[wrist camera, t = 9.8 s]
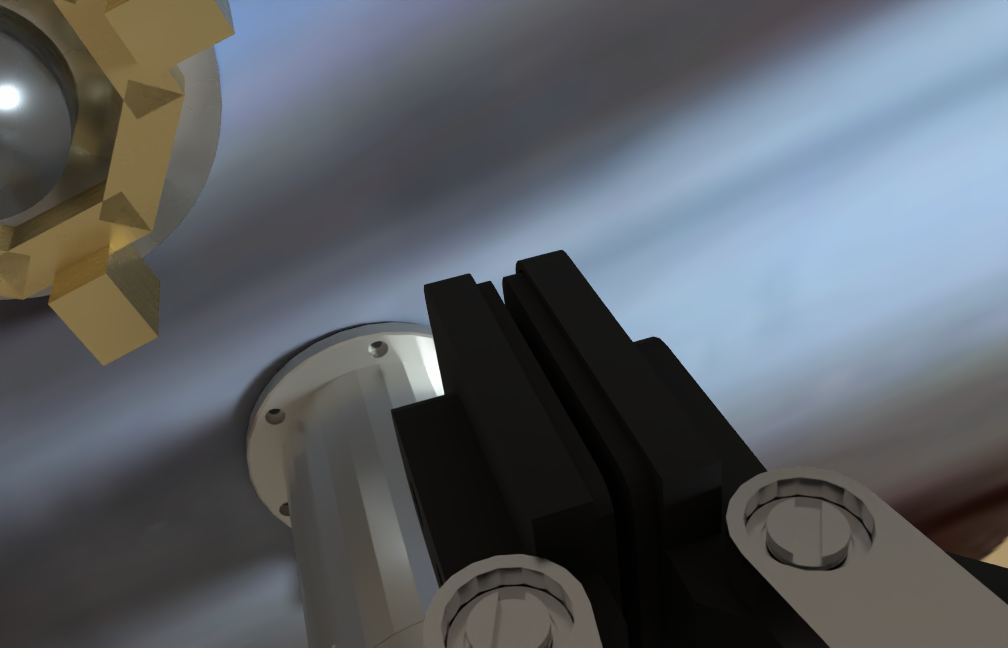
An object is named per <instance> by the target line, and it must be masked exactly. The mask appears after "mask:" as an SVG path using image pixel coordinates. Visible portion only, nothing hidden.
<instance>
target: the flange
mask: <svg viewBox="0 0 1008 648" xmlns="http://www.w3.org/2000/svg"><path fill="white" fill-rule="evenodd" d="M176 65H177V66H178V68H179V69H180V71H181V72H182V74H183V75H184V77H185V97H184V101H183V105H182V109H181V113H180V118H179V122H178V126H177V130H176V134H175V139H174V143H173V147H172V151H171V156H170V160H169V164H168V168H167V172H166V177H165V181H164V185H163V189H162V194H161V198H160V202H159V206H158V210H157V215H156V219H155V223H154V227H153V231H152V232H151V233H149V234H147V235H145V236H143V237H141V238H139V239H138V240H136V241H134V242H132V243H131V245H132V246H133V247H134V248H135V250H136V251H137V252H138V254H139V255H140V256H141V257H142V258H143V257H144V256H145V255H147V254H148V253H149V252H151V251H152V250H153V249H155V248H156V247H157V246H158V245H160V244H161V243H162V242H163V241H164V240H165V239H166V238H167V237H168V236H169V235H170V234H171V233H172V232H173V231H174V230H175V229H176V228H177V227H178V225H179V224H180V223H181V221H182V220H183V219H184V217H185V216H186V215H187V213H188V212H189V211H190V209H191V208H192V207H193V205H194V204H195V202H196V200H197V198H198V196H199V194H200V192H201V191H202V189H203V187H204V185H205V183H206V181H207V178H208V175H209V172H210V170H211V167H212V164H213V162H214V159H215V154H216V150H217V145H218V140H219V135H220V126H221V110H222V101H221V88H220V76H219V68H218V63H217V59H216V54H215V49H214V45H213V46H211V47H209V48H207V49H205V50H203V51H201V52H199V53H197V54H195V55H194V56H192V57H190V58H188V59H186V60H184V61H182V62H180V63H178V64H176ZM122 102H123V99H122V97H121V96H120V94H119V93H118V91H117V90H116V89H115V87H114V86H113V84H112V83H111V82H110V80H109V79H108V77H107V76H106V75H105V73H104V72H103V70H102V69H101V68H100V66H99V65H98V63H97V62H96V60H95V59H94V58H93V56H92V55H91V53H90V52H89V51H88V49H87V48H86V46H85V45H84V44H83V42H82V41H81V39H80V38H79V37H78V35H77V34H76V32H75V31H74V29H73V28H72V27H71V25H70V24H69V22H68V21H67V20H66V18H65V17H64V15H63V14H62V13H61V11H60V10H59V8H58V7H57V6H56V4H55V3H54V1H53V0H0V224H3V225H8V226H13V227H16V226H18V225H20V224H22V223H24V222H26V221H28V220H30V219H31V218H33V217H35V216H37V215H39V214H41V213H43V212H45V211H47V210H49V209H51V208H52V207H54V206H56V205H58V204H60V203H62V202H64V201H66V200H68V199H70V198H71V197H73V196H75V195H77V194H79V193H81V192H83V191H85V190H87V189H89V188H90V187H92V186H94V185H96V184H98V183H100V182H102V181H104V180H106V178H107V173H108V169H109V164H110V159H111V154H112V150H113V145H114V140H115V135H116V130H117V126H118V121H119V116H120V111H121V107H122ZM51 289H52V285H50V286H48V287H46V288H45V289H43V290H41V291H39V292H37V293H35V294H33V295H31V296H29V297H27V298H35V297H41V296H47V295H50V293H51ZM7 299H15V298H10V297H4V296H0V300H7Z"/></svg>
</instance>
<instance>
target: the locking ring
mask: <svg viewBox="0 0 1008 648" xmlns="http://www.w3.org/2000/svg"><path fill="white" fill-rule="evenodd" d="M53 1H54V3H55V4H56V6H57V7H58V8H59V10H60V11H61V13H62V14H63V15H64V17H65V18H66V20H67V21H68V22H69V24H70V25H71V27H72V28H73V29H74V31H75V32H76V34H77V35H78V37H79V38H80V39H81V41H82V42H83V44H84V45H85V46H86V48H87V49H88V51H89V52H90V53H91V55H92V56H93V58H94V59H95V60H96V62H97V63H98V65H99V66H100V68H101V69H102V70H103V72H104V73H105V75H106V76H107V77H108V79H109V80H110V82H111V83H112V84H113V86H114V87H115V89H116V90H117V91H118V93H119V94H120V96H121V97H122V99H123V102H122V107H121V111H120V116H119V121H118V126H117V130H116V135H115V140H114V145H113V150H112V154H111V159H110V164H109V169H108V173H107V178H106V180H104V181H102V182H100V183H98V184H96V185H94V186H92V187H90V188H89V189H87V190H85V191H83V192H81V193H79V194H77V195H75V196H73V197H71V198H70V199H68V200H66V201H64V202H62V203H60V204H58V205H56V206H54V207H52V208H51V209H49V210H47V211H45V212H43V213H41V214H39V215H37V216H35V217H33V218H31V219H30V220H28V221H26V222H24V223H22V224H20V225H18V226H16V227H13V226H8V225H3V224H0V296H4V297H10V298H15V299H21V300H24V299H26V298H27V297H29V296H31V295H33V294H35V293H37V292H39V291H41V290H43V289H45V288H46V287H48V286H50V285H52V289H51V293H50V297H49V302H48V305H49V306H50V307H51V308H52V309H53V310H54V311H55V312H56V314H57V315H58V316H59V317H60V318H61V319H62V320H63V321H64V322H65V324H66V325H67V326H68V327H69V328H70V329H71V330H72V331H73V333H74V334H75V335H76V336H77V337H78V338H79V339H80V340H81V341H82V343H83V344H84V345H85V346H86V347H87V348H88V349H89V350H90V352H91V353H92V354H93V355H94V356H95V357H96V358H97V359H98V360H99V362H100V363H101V364H102V365H103V366H104V365H106V364H108V363H110V362H112V361H114V360H116V359H118V358H119V357H121V356H123V355H125V354H127V353H129V352H131V351H133V350H135V349H136V348H138V347H140V346H142V345H144V344H146V343H148V342H150V341H152V340H153V339H155V338H157V337H158V332H159V302H160V280H159V279H158V278H157V276H156V275H155V274H154V273H153V271H152V270H151V269H150V268H149V266H148V265H147V264H146V262H145V261H144V260H143V259H142V257H141V256H140V255H139V254H138V252H137V251H136V250H135V248H134V247H133V246H132V245H131V243H132V242H134V241H136V240H138V239H139V238H141V237H143V236H145V235H147V234H149V233H151V232H152V231H153V227H154V223H155V219H156V215H157V210H158V206H159V202H160V198H161V194H162V189H163V185H164V181H165V177H166V172H167V168H168V164H169V160H170V156H171V151H172V147H173V143H174V139H175V134H176V130H177V126H178V122H179V118H180V113H181V109H182V105H183V101H184V97H185V77H184V75H183V74H182V72H181V71H180V69H179V68H178V66H177V65H176V64H178V63H180V62H182V61H184V60H186V59H188V58H190V57H192V56H194V55H195V54H197V53H199V52H201V51H203V50H205V49H207V48H209V47H211V46H213V45H215V44H216V43H218V42H220V41H222V40H224V39H226V38H228V37H230V36H232V35H234V34H235V32H234V26H233V21H232V16H231V10H230V5H229V1H228V0H53Z"/></svg>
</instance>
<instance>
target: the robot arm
mask: <svg viewBox="0 0 1008 648" xmlns="http://www.w3.org/2000/svg"><path fill="white" fill-rule="evenodd" d="M502 286H503V294H504V301H505V304H504V303H503V301H502V299H501V297H500V296H499V294H498V292H497V290H496V289H495V287H494V285H493V283H492V282H491V281H487V282H483V283H479V284H476V282H475V281H474V279H473V277H472V276H471V274H465V275H461V276H457V277H453V278H449V279H445V280H441V281H437V282H433V283H429V284H426V285H424V294H425V300H426V305H427V310H428V315H429V320H430V325H431V327H430V326H426V325H422V324H413V323H398V322H391V323H380V324H370V325H364V326H361V327H357V328H353V329H349V330H345V331H342V332H339V333H337V334H334V335H332V336H330V337H328V338H325V339H323V340H321V341H319V342H316V343H315V344H313V345H312V346H310V347H308V348H307V349H305V350H304V351H302V352H301V353H299V354H298V355H296V356H295V357H293V358H292V359H291V360H290V361H289V362H288V363H287V364H286V365H285V366H284V367H283V368H281V369H280V370H279V371H278V372H277V373H276V374H275V375H274V376H273V378H272V379H271V380H270V382H269V383H268V385H267V386H266V387H265V389H264V390H263V391H262V393H261V394H260V396H259V398H258V400H257V402H256V405H255V407H254V409H253V411H252V413H251V416H250V420H249V425H248V430H247V435H246V452H247V463H248V469H249V475H250V480H251V482H252V484H253V486H254V489H255V491H256V493H257V495H258V497H259V499H260V500H261V501H262V502H263V504H264V505H265V506H266V508H267V509H268V510H269V511H270V513H271V514H273V515H274V516H275V517H276V518H278V519H279V520H280V521H281V522H283V523H284V524H285V525H286V526H288V527H290V528H292V534H293V541H294V548H295V555H296V562H297V569H298V576H299V583H300V590H301V597H302V604H303V611H304V618H305V625H306V632H307V639H308V646H309V648H1008V568H1004V567H1001V566H997V565H993V564H989V563H986V562H982V561H978V560H974V559H971V558H967V557H963V556H959V555H956V554H952V553H948V552H945V551H943V550H941V549H940V548H939V547H938V546H937V545H935V544H934V543H933V542H932V541H931V540H929V539H928V538H927V537H926V536H925V535H923V534H922V533H921V532H920V531H919V530H917V529H916V528H915V527H914V526H913V525H911V524H910V523H909V522H908V521H907V520H905V519H904V518H903V517H902V516H901V515H899V514H898V513H897V512H896V511H895V510H893V509H892V508H891V507H890V506H889V505H887V504H886V503H885V502H884V501H883V500H881V499H880V498H879V497H878V496H877V495H875V494H874V493H873V492H872V491H870V490H869V489H867V488H866V487H864V486H863V485H861V484H859V483H858V482H856V481H855V480H853V479H852V478H849V477H846V476H843V475H841V474H838V473H835V472H832V471H830V470H825V469H818V468H811V467H804V466H801V467H785V468H777V469H774V470H771V471H767V470H766V469H765V468H764V466H763V465H762V464H761V463H760V461H759V460H758V459H757V458H756V456H755V455H754V454H753V453H752V451H751V450H750V449H749V447H748V446H747V445H746V444H745V442H744V441H743V440H742V439H741V437H740V436H739V435H738V434H737V432H736V431H735V430H734V429H733V427H732V426H731V425H730V424H729V422H728V421H727V420H726V419H725V417H724V416H723V415H722V414H721V412H720V411H719V410H718V409H717V407H716V406H715V405H714V404H713V402H712V401H711V400H710V399H709V397H708V396H707V395H706V394H705V392H704V391H703V390H702V389H701V387H700V386H699V385H698V384H697V382H696V381H695V380H694V379H693V377H692V376H691V375H690V374H689V372H688V371H687V370H686V369H685V367H684V366H683V365H682V364H681V362H680V361H679V360H678V359H677V357H676V356H675V355H674V354H673V352H672V351H671V350H670V349H669V347H668V346H667V345H666V344H665V343H664V342H663V341H662V340H661V339H660V338H657V337H650V338H646V339H643V340H639V341H636V342H632V340H631V339H630V338H629V336H628V335H627V334H626V332H625V331H624V330H623V328H622V327H621V326H620V324H619V323H618V322H617V320H616V319H615V318H614V316H613V315H612V314H611V312H610V311H609V310H608V308H607V307H606V306H605V304H604V303H603V302H602V300H601V299H600V298H599V296H598V295H597V294H596V292H595V291H594V290H593V288H592V287H591V286H590V284H589V283H588V282H587V280H586V279H585V278H584V276H583V275H582V273H581V272H580V271H579V269H578V268H577V267H576V265H575V264H574V263H573V261H572V260H571V259H570V257H569V256H568V255H567V253H565V252H564V251H563V250H558V251H554V252H551V253H547V254H543V255H539V256H535V257H531V258H527V259H523V260H519V261H517V263H516V274H514V275H510V276H506V277H503V280H502ZM376 341H378V342H376ZM374 342H376V343H374Z"/></svg>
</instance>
